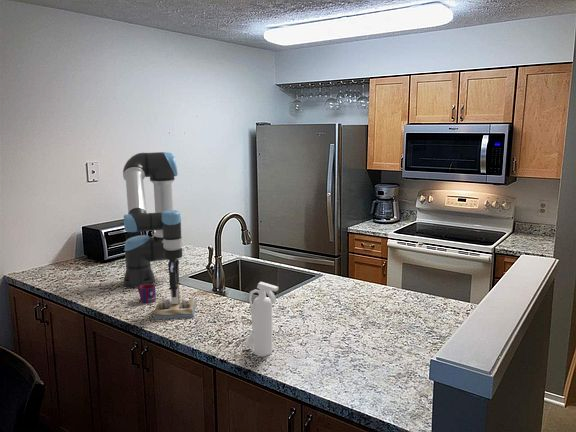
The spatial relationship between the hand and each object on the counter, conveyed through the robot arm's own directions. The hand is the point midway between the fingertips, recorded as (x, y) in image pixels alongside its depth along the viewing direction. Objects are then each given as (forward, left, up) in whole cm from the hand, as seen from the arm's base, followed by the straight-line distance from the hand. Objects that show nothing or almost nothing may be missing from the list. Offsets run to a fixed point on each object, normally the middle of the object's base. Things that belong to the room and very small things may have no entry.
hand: (175, 301), depth 194 cm
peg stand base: (+2, 0, -3) cm, 3 cm away
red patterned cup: (-15, -15, -4) cm, 21 cm away
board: (0, 0, -4) cm, 4 cm away
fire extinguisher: (+41, +34, -4) cm, 53 cm away
